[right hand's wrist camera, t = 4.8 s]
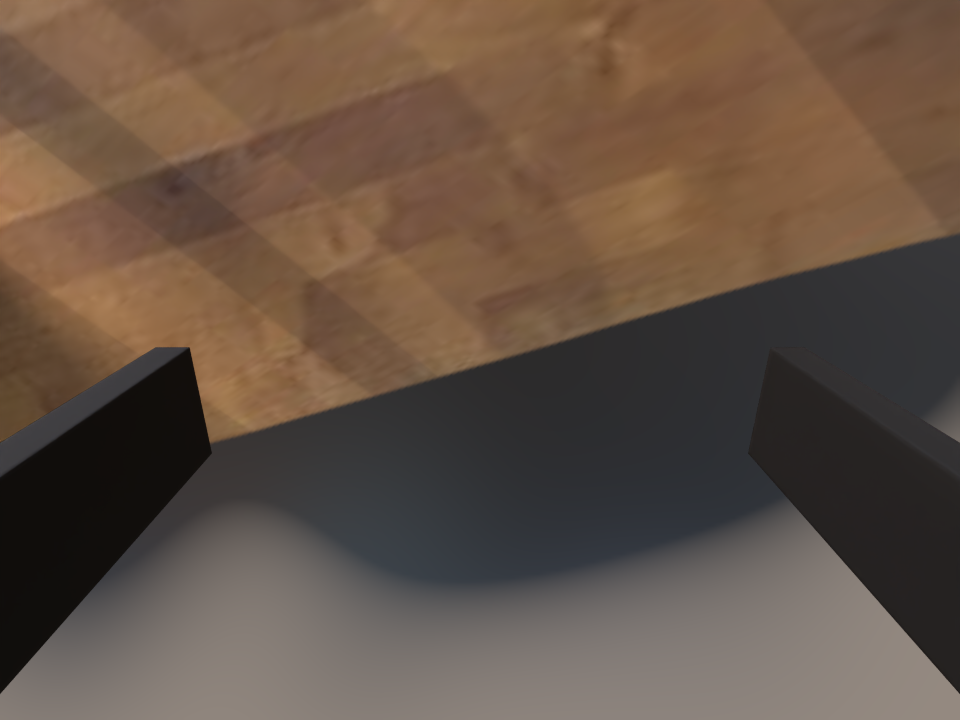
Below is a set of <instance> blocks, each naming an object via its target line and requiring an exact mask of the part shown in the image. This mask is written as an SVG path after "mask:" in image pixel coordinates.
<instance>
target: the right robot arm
mask: <svg viewBox="0 0 960 720" xmlns="http://www.w3.org/2000/svg"><path fill="white" fill-rule="evenodd" d="M211 454H212V452H211V447H210V442H209V438H208V433H207V428H206V423H205V418H204V414H203V409H202V404H201V399H200V395H199V390H198V385H197V380H196V376H195V371H194V366H193V361H192V357H191V352H190V347H156V348H154V349H152V350H151V351H149V352H147V353H146V354H144V355H143V356H141V357H139V358H138V359H136V360H134V361H133V362H131V363H130V364H128V365H126V366H125V367H123V368H121V369H120V370H118V371H116V372H115V373H113V374H112V375H110V376H108V377H107V378H105V379H103V380H102V381H100V382H99V383H97V384H95V385H94V386H92V387H90V388H89V389H87V390H86V391H84V392H82V393H81V394H79V395H77V396H76V397H74V398H72V399H71V400H69V401H68V402H66V403H64V404H63V405H61V406H59V407H58V408H56V409H55V410H53V411H51V412H50V413H48V414H46V415H45V416H43V417H42V418H40V419H38V420H37V421H35V422H33V423H32V424H30V425H29V426H27V427H25V428H24V429H22V430H20V431H19V432H17V433H15V434H14V435H12V436H11V437H9V438H7V439H6V440H4V441H2V442H1V443H0V693H1V692H2V691H3V690H4V689H5V688H6V687H7V686H8V684H9V683H10V682H11V681H12V680H13V679H14V678H15V676H16V675H17V674H18V673H19V672H20V671H21V670H22V668H23V667H24V666H25V665H26V664H27V663H28V662H29V660H30V659H31V658H32V657H33V656H34V655H35V654H36V653H37V651H38V650H39V649H40V648H41V647H42V646H43V645H44V643H45V642H46V641H47V640H48V639H49V638H50V637H51V636H52V634H53V633H54V632H55V631H56V630H57V629H58V628H59V626H60V625H61V624H62V623H63V622H64V621H65V620H66V618H67V617H68V616H69V615H70V614H71V613H72V612H73V610H74V609H75V608H76V607H77V606H78V605H79V604H80V602H81V601H82V600H83V599H84V598H85V597H86V596H87V595H88V593H89V592H90V591H91V590H92V589H93V588H94V587H95V585H96V584H97V583H98V582H99V581H100V580H101V579H102V577H103V576H104V575H105V574H106V573H107V572H108V571H109V570H110V568H111V567H112V566H113V565H114V564H115V563H116V562H117V560H118V559H119V558H120V557H121V556H122V555H123V554H124V553H125V551H126V550H127V549H128V548H129V547H130V546H131V544H132V543H133V542H134V541H135V540H136V539H137V538H138V537H139V535H140V534H141V533H142V532H143V531H144V530H145V529H146V528H147V526H148V525H149V524H150V523H151V522H152V521H153V520H154V518H155V517H156V516H157V515H158V514H159V513H160V512H161V510H162V509H163V508H164V507H165V506H166V505H167V504H168V502H169V501H170V500H171V499H172V498H173V497H174V496H175V495H176V493H177V492H178V491H179V490H180V489H181V488H182V487H183V485H184V484H185V483H186V482H187V481H188V480H189V479H190V477H191V476H192V475H193V474H194V473H195V472H196V471H197V470H198V468H199V467H200V466H201V465H202V464H203V463H204V462H205V460H206V459H207V458H208V457H209V456H210V455H211ZM748 454H749V455H750V456H751V457H752V458H753V459H754V460H755V462H756V463H757V464H758V465H759V466H760V467H761V468H762V470H763V471H764V472H765V473H766V474H767V475H768V476H769V477H770V479H771V480H772V481H773V482H774V483H775V484H776V485H777V487H778V488H779V489H780V490H781V491H782V492H783V493H784V495H785V496H786V497H787V498H788V499H789V500H790V501H791V503H792V504H793V505H794V506H795V507H796V508H797V509H798V510H799V512H800V513H801V514H802V515H803V516H804V517H805V518H806V520H807V521H808V522H809V523H810V524H811V525H812V526H813V527H814V529H815V530H816V531H817V532H818V533H819V534H820V535H821V537H822V538H823V539H824V540H825V541H826V542H827V543H828V545H829V546H830V547H831V548H832V549H833V550H834V551H835V553H836V554H837V555H838V556H839V557H840V558H841V559H842V560H843V562H844V563H845V564H846V565H847V566H848V567H849V568H850V570H851V571H852V572H853V573H854V574H855V575H856V576H857V577H858V579H859V580H860V581H861V582H862V583H863V584H864V585H865V587H866V588H867V589H868V590H869V591H870V592H871V593H872V595H873V596H874V597H875V598H876V599H877V600H878V601H879V602H880V604H881V605H882V606H883V607H884V608H885V609H886V611H887V612H888V613H889V614H890V615H891V616H892V617H893V618H894V620H895V621H896V622H897V623H898V624H899V625H900V626H901V628H902V629H903V630H904V631H905V632H906V633H907V634H908V636H909V637H910V638H911V639H912V640H913V641H914V642H915V643H916V645H917V646H918V647H919V648H920V649H921V650H922V651H923V653H924V654H925V655H926V656H927V657H928V658H929V659H930V661H931V662H932V663H933V664H934V665H935V666H936V667H937V668H938V670H939V671H940V672H941V673H942V674H943V675H944V676H945V678H946V679H947V680H948V681H949V682H950V683H951V684H952V686H953V687H954V688H955V689H956V690H957V691H958V692H959V694H960V443H959V442H958V441H956V440H954V439H953V438H951V437H949V436H948V435H946V434H945V433H943V432H941V431H940V430H938V429H936V428H935V427H933V426H931V425H930V424H928V423H927V422H925V421H923V420H922V419H920V418H918V417H917V416H915V415H914V414H912V413H910V412H909V411H907V410H905V409H904V408H902V407H901V406H899V405H897V404H896V403H894V402H892V401H891V400H889V399H888V398H886V397H884V396H883V395H881V394H879V393H878V392H876V391H874V390H873V389H871V388H870V387H868V386H866V385H865V384H863V383H861V382H860V381H858V380H857V379H855V378H853V377H852V376H850V375H848V374H847V373H845V372H844V371H842V370H840V369H839V368H837V367H835V366H834V365H832V364H830V363H829V362H827V361H826V360H824V359H822V358H821V357H819V356H817V355H816V354H814V353H813V352H811V351H809V350H808V349H806V348H804V347H771V348H770V352H769V357H768V361H767V366H766V371H765V376H764V380H763V385H762V390H761V395H760V399H759V404H758V409H757V414H756V419H755V423H754V428H753V433H752V438H751V443H750V447H749V452H748Z"/></svg>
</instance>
